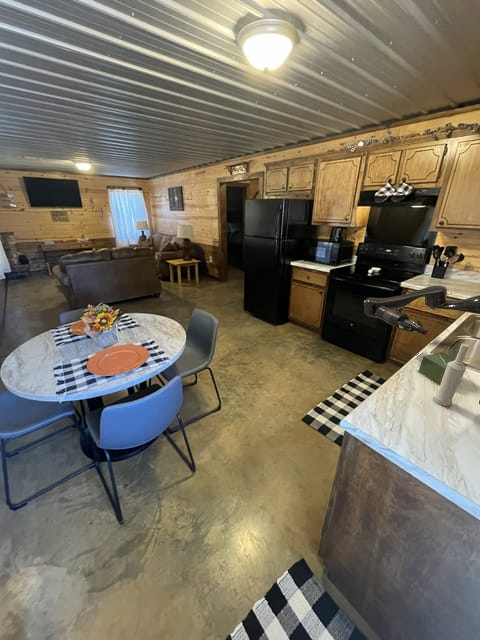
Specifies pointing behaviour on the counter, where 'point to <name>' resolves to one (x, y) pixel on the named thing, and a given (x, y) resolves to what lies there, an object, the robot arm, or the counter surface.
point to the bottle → (451, 378)
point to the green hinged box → (431, 371)
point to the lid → (441, 359)
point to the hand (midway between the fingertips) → (426, 332)
